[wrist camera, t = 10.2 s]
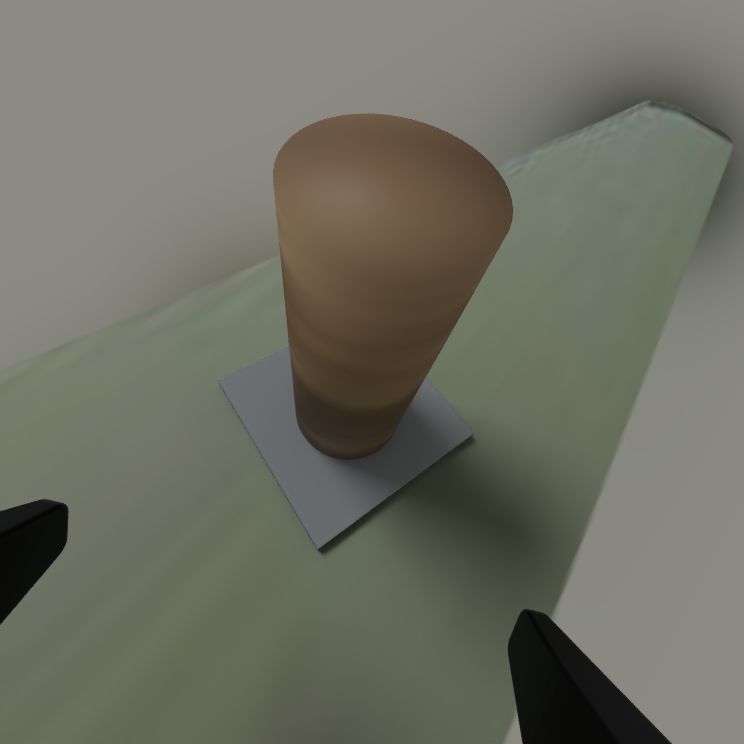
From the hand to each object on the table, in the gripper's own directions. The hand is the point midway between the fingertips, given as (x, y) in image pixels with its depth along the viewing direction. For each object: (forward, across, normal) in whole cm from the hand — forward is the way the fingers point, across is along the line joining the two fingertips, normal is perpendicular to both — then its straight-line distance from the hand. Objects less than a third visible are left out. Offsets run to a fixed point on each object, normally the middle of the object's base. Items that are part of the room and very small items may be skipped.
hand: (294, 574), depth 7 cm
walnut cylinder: (+11, 0, 0) cm, 11 cm away
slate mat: (+12, 0, +1) cm, 12 cm away
